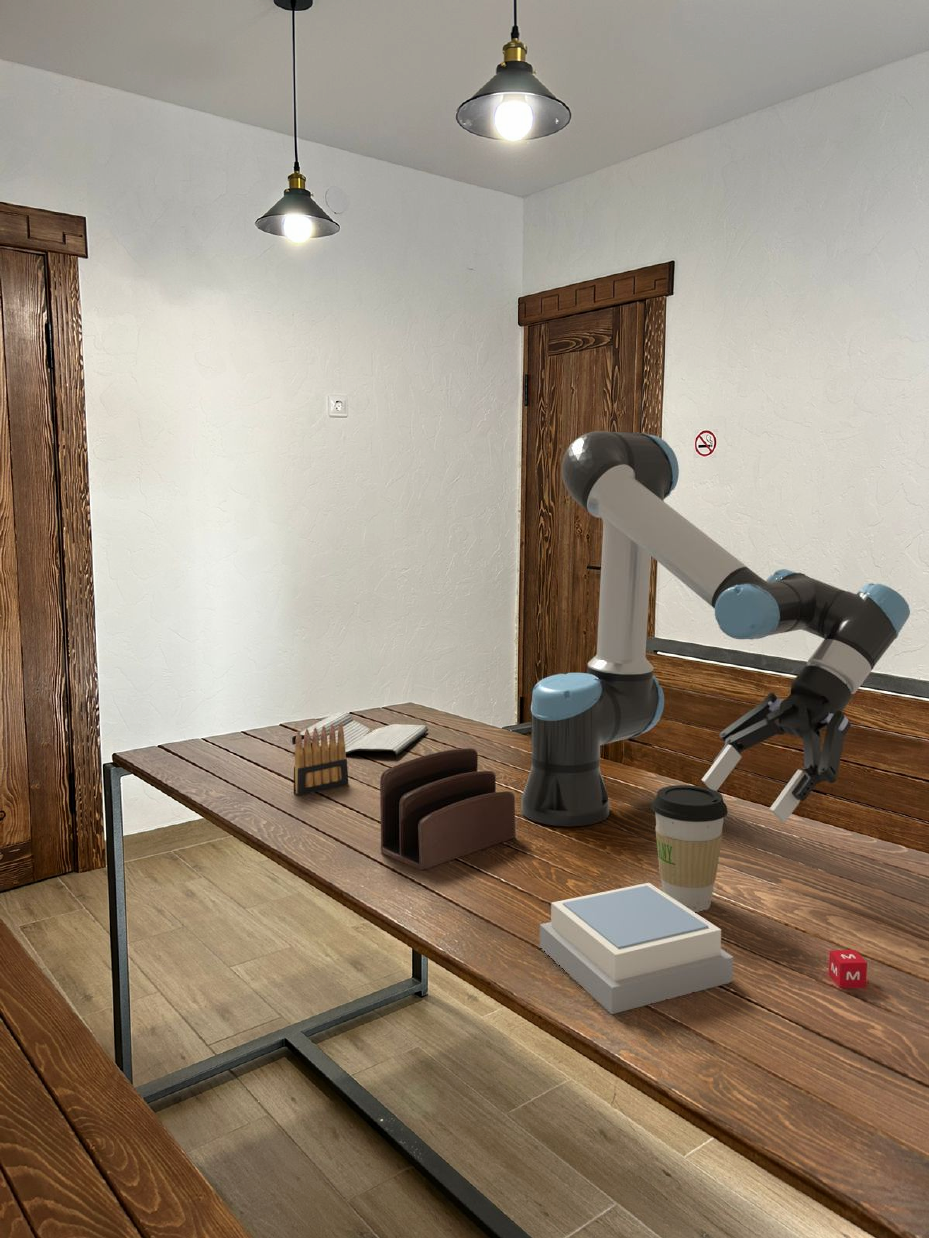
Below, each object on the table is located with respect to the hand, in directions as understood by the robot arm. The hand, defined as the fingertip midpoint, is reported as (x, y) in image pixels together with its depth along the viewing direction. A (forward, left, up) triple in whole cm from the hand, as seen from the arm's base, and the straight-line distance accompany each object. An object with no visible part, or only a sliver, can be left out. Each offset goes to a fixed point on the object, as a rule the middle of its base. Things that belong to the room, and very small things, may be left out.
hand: (740, 800), depth 126 cm
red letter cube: (+23, -4, -14) cm, 27 cm away
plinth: (+10, -24, -13) cm, 29 cm away
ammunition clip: (-69, -40, -14) cm, 81 cm away
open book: (-97, -23, -14) cm, 101 cm away
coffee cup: (-1, -8, -14) cm, 16 cm away
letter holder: (-34, -29, -14) cm, 46 cm away
